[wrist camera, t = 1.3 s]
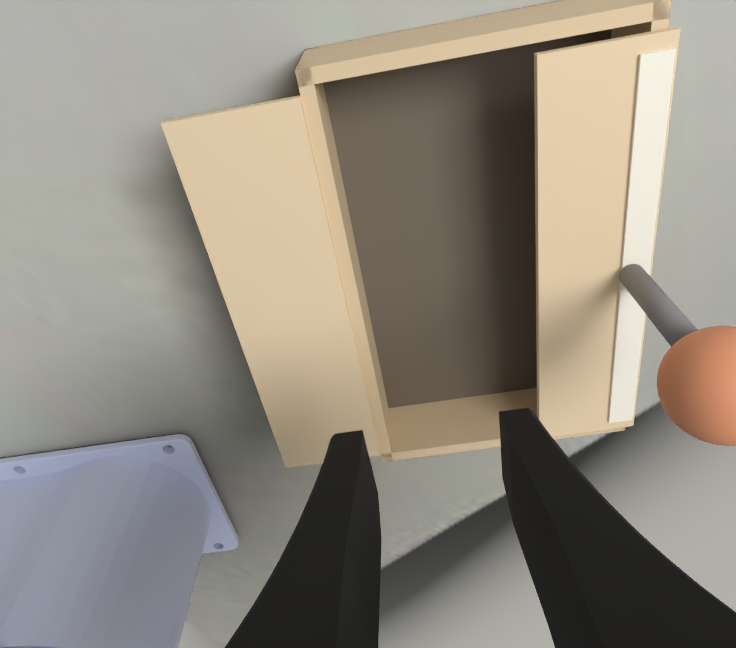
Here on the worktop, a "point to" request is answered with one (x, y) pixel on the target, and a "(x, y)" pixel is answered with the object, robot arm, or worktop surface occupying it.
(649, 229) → the flap
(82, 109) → the worktop surface
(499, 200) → the carton
